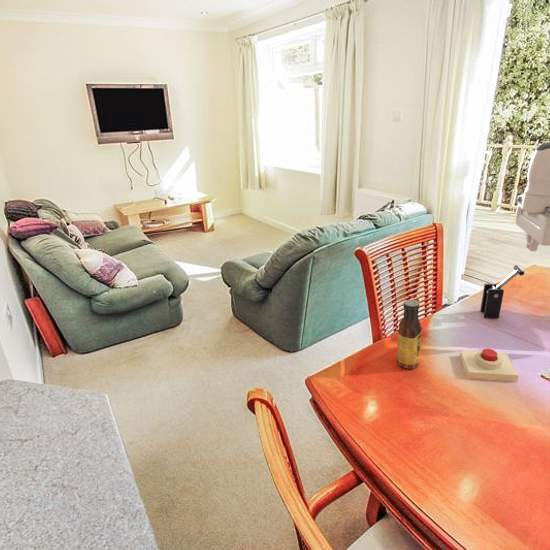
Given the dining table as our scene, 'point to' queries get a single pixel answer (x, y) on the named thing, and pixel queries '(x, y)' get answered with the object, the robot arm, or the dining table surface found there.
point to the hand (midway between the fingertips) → (531, 249)
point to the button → (489, 355)
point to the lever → (509, 277)
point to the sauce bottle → (409, 336)
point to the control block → (488, 366)
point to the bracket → (491, 301)
